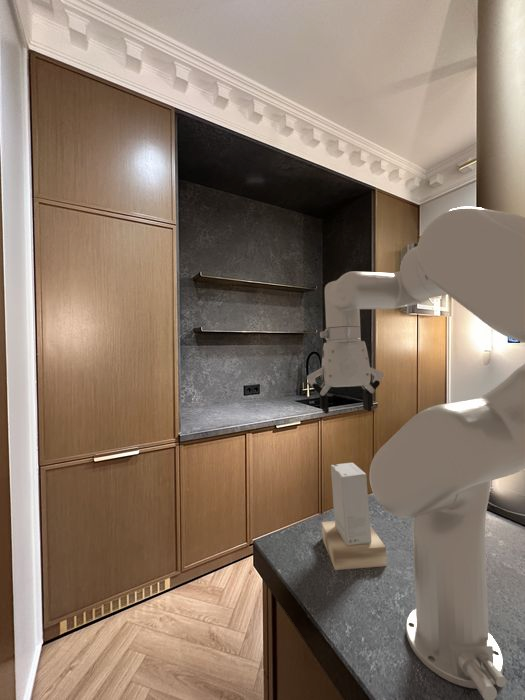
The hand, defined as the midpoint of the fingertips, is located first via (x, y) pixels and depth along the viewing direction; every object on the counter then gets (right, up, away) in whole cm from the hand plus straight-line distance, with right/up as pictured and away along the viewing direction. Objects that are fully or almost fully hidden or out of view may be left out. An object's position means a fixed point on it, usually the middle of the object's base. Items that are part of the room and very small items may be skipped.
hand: (346, 411), depth 71 cm
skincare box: (+1, -28, 0) cm, 28 cm away
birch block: (+1, -32, 0) cm, 32 cm away
